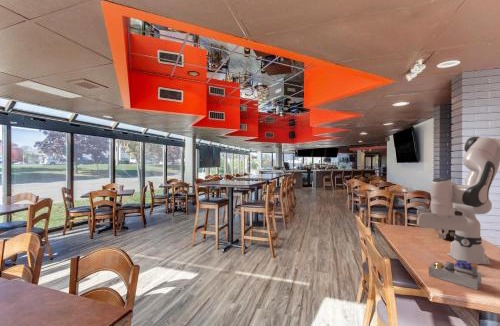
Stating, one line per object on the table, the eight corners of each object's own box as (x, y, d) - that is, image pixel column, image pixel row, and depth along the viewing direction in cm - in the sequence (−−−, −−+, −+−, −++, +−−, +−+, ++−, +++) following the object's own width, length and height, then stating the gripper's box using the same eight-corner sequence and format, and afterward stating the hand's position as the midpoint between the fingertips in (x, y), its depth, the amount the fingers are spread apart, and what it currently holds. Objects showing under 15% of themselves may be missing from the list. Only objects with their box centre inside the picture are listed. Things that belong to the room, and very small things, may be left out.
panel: (434, 270, 128) (434, 261, 128) (481, 283, 114) (481, 273, 114) (428, 275, 122) (428, 266, 122) (477, 290, 108) (477, 279, 108)
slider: (473, 273, 114) (473, 262, 114) (477, 274, 113) (477, 263, 113) (472, 275, 112) (472, 264, 112) (476, 276, 111) (476, 265, 111)
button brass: (436, 268, 125) (436, 261, 125) (443, 270, 123) (443, 263, 123) (434, 269, 123) (434, 263, 123) (441, 272, 121) (441, 264, 121)
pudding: (463, 266, 133) (463, 257, 133) (486, 276, 121) (486, 266, 121) (443, 267, 132) (443, 257, 132) (464, 277, 120) (464, 267, 120)
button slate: (447, 268, 122) (447, 261, 122) (454, 270, 119) (454, 263, 119) (445, 270, 120) (445, 263, 120) (453, 272, 117) (453, 265, 117)
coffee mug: (454, 239, 180) (455, 225, 180) (457, 242, 173) (457, 228, 173) (435, 236, 186) (435, 223, 186) (436, 239, 179) (436, 226, 179)
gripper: (417, 209, 124) (417, 236, 124) (469, 213, 115) (469, 242, 115) (415, 207, 130) (415, 233, 130) (464, 210, 121) (464, 238, 121)
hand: (441, 237), depth 122 cm, fingers closed
